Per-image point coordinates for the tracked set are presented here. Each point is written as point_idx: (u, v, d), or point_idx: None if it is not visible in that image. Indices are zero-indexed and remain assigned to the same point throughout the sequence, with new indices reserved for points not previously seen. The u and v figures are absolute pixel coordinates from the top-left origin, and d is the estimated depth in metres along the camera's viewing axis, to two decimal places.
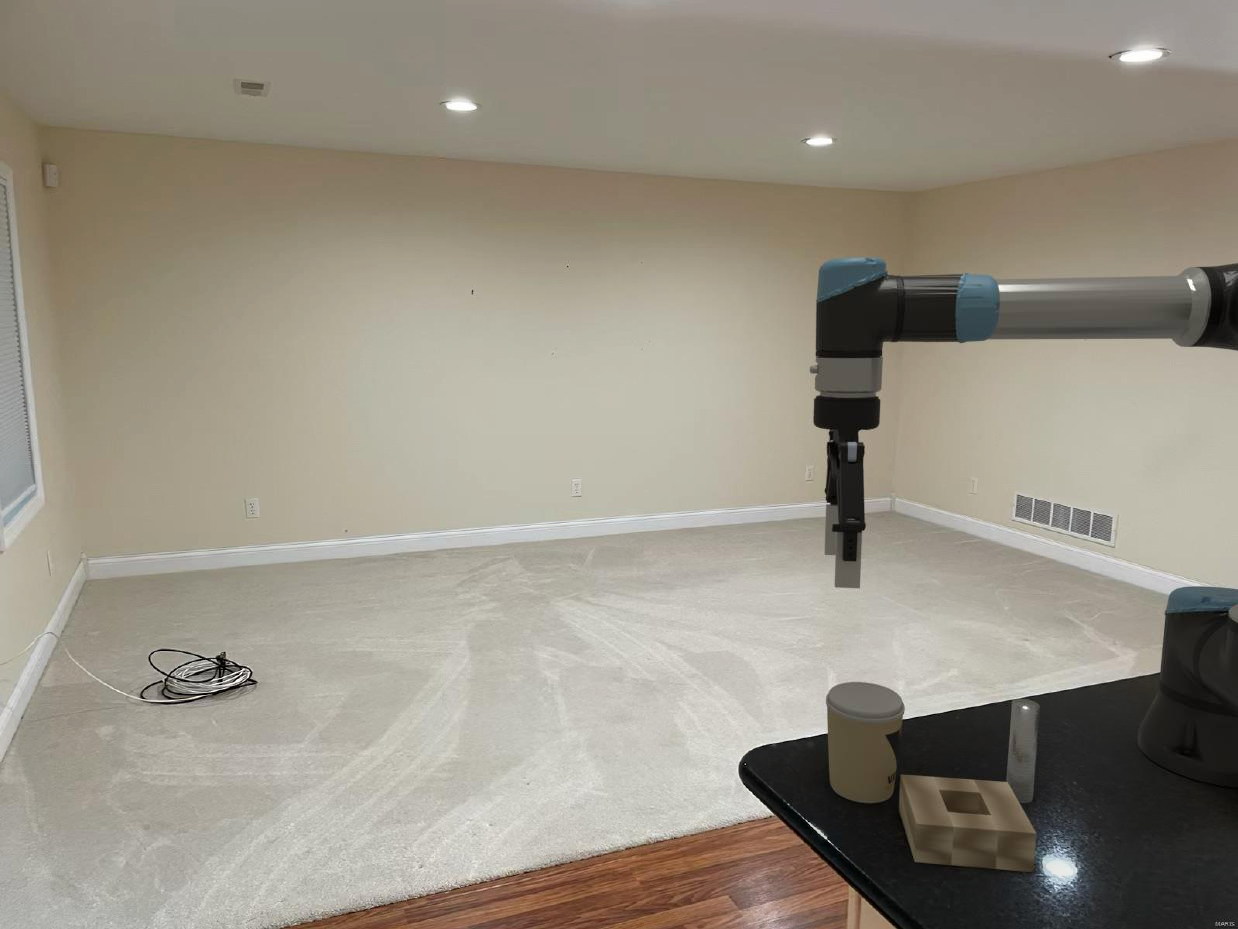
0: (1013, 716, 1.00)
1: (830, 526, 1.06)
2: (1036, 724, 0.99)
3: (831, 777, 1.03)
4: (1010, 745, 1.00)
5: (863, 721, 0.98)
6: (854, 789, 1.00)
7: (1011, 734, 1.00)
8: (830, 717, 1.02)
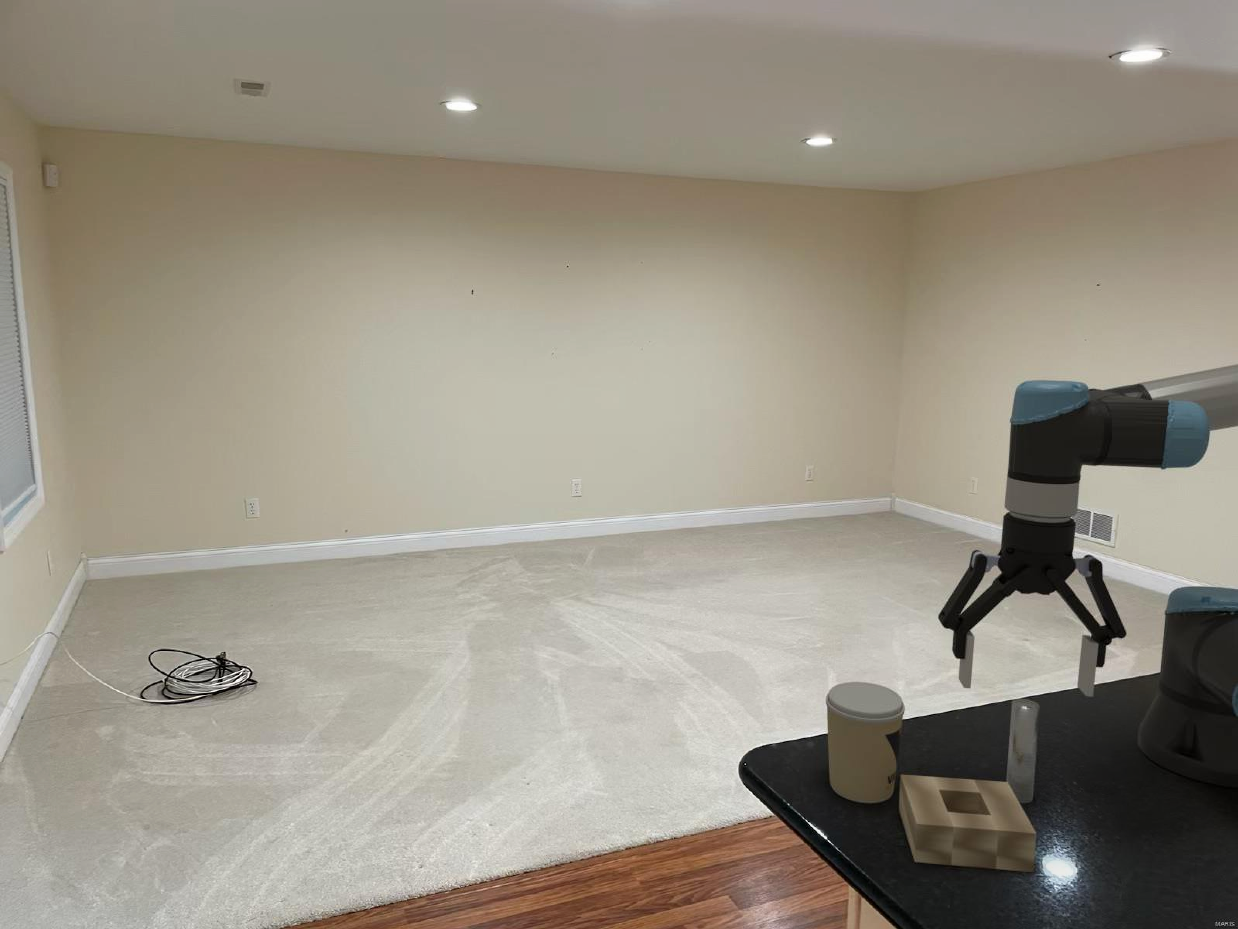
0: (1013, 716, 1.00)
1: (1082, 658, 0.98)
2: (1036, 724, 0.99)
3: (831, 777, 1.03)
4: (1010, 745, 1.00)
5: (863, 721, 0.98)
6: (854, 789, 1.00)
7: (1011, 734, 1.00)
8: (830, 717, 1.02)
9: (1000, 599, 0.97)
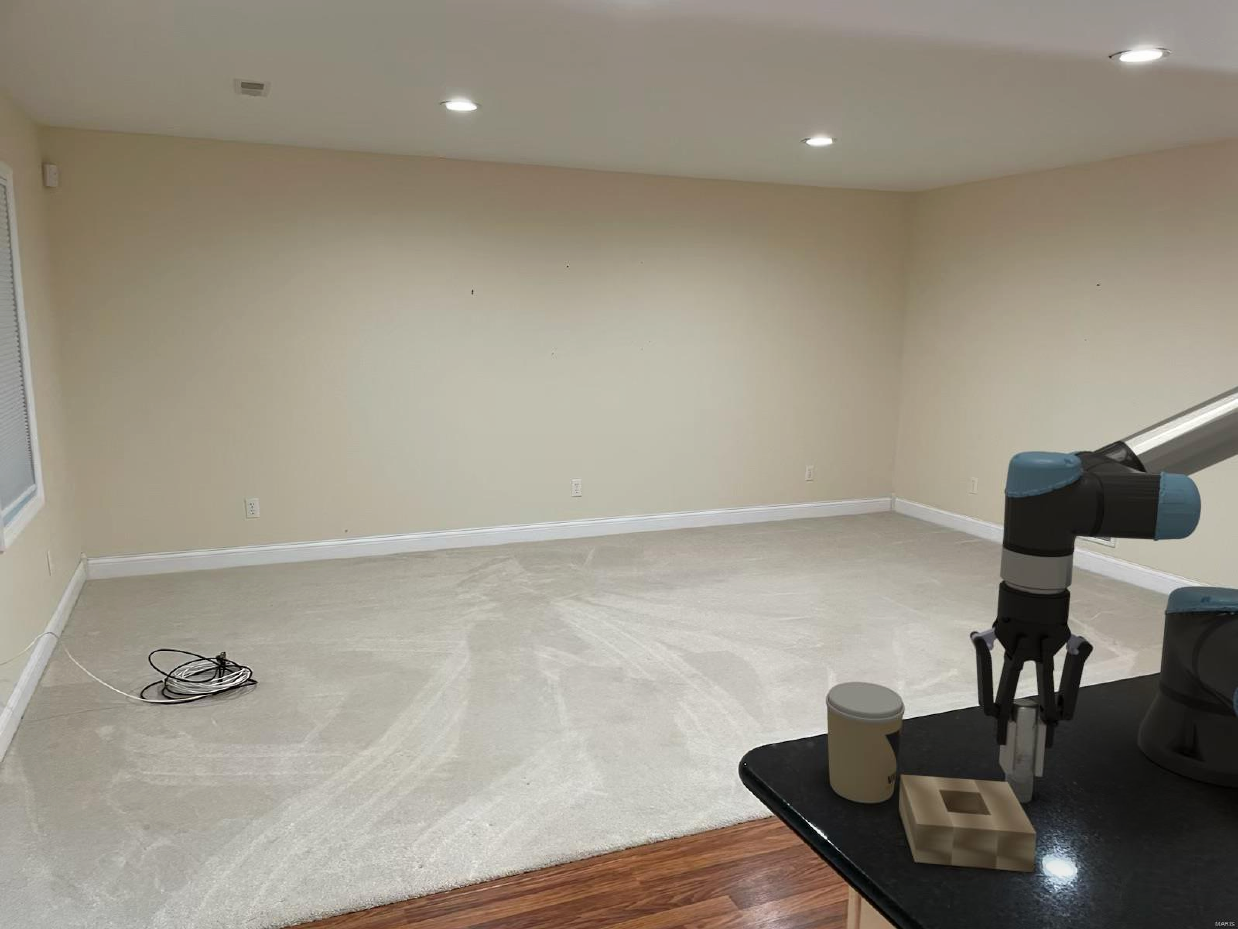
0: (1012, 716, 1.00)
1: None
2: (1035, 724, 0.99)
3: (831, 777, 1.03)
4: None
5: (863, 721, 0.98)
6: (854, 789, 1.00)
7: None
8: (830, 717, 1.02)
9: (1017, 674, 0.98)
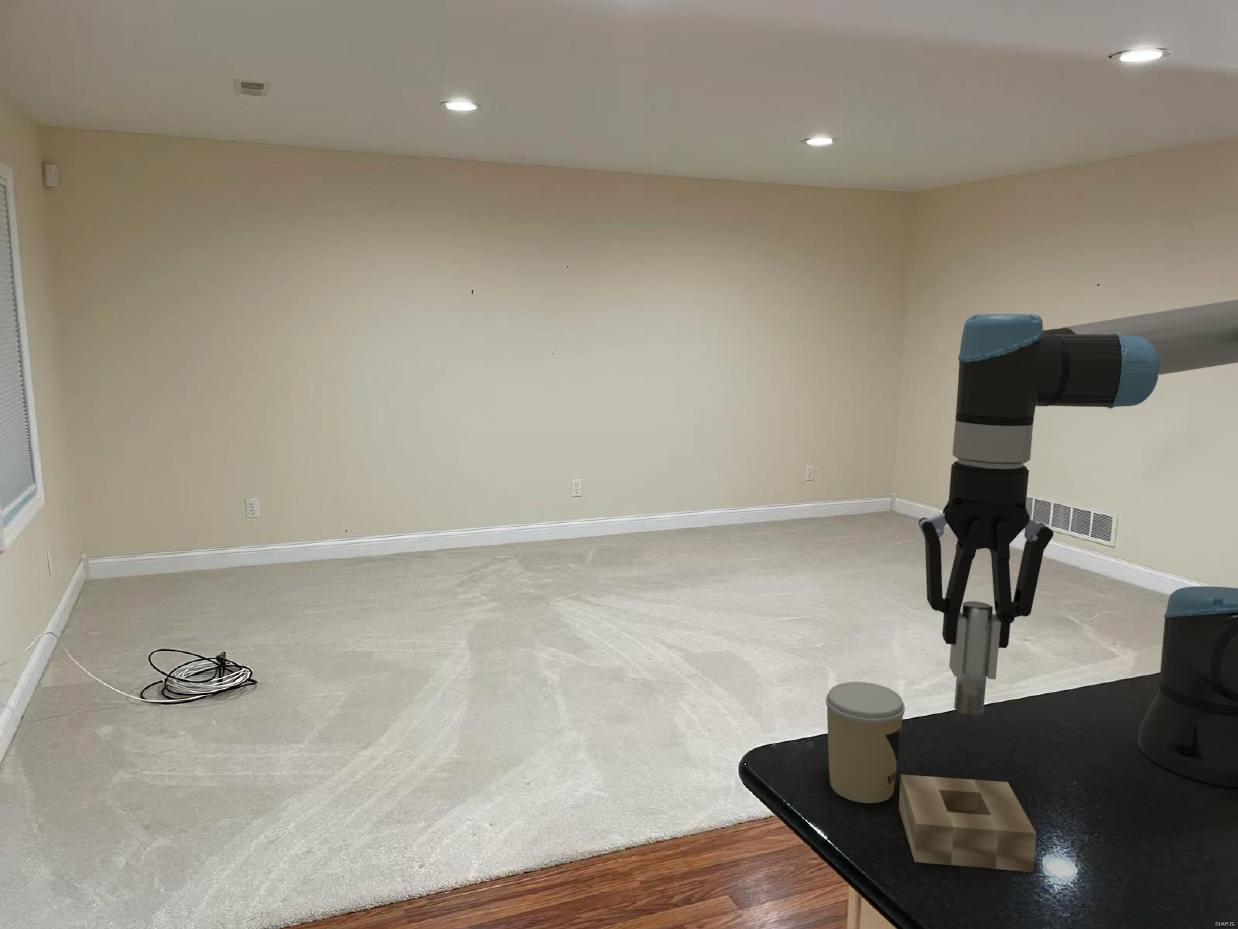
0: None
1: None
2: (988, 627, 0.89)
3: (831, 777, 1.03)
4: None
5: (863, 721, 0.98)
6: (854, 789, 1.00)
7: None
8: (830, 717, 1.02)
9: (969, 564, 0.88)
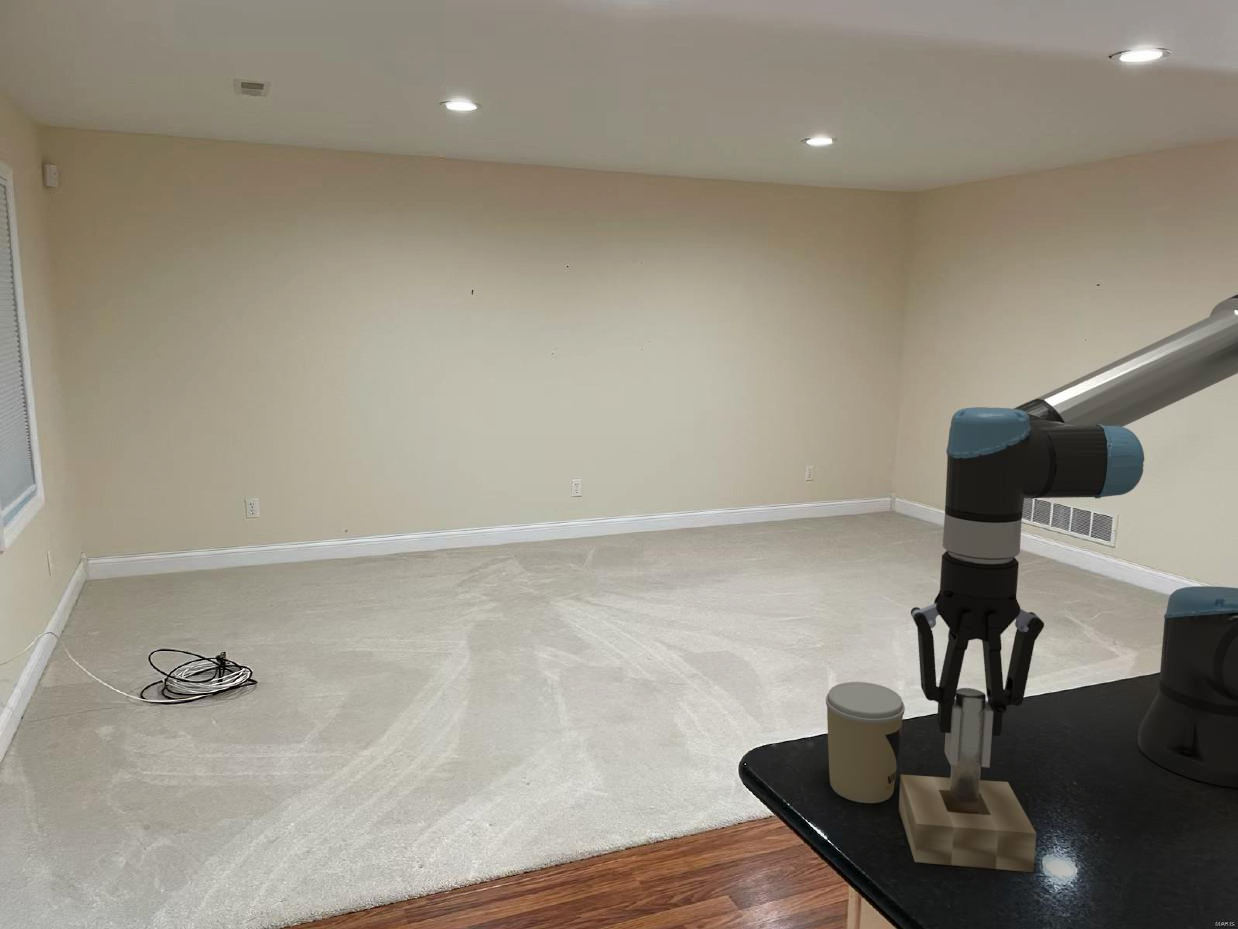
0: None
1: None
2: (981, 716, 0.90)
3: (831, 777, 1.03)
4: None
5: (863, 721, 0.98)
6: (854, 789, 1.00)
7: None
8: (830, 717, 1.02)
9: (961, 654, 0.89)
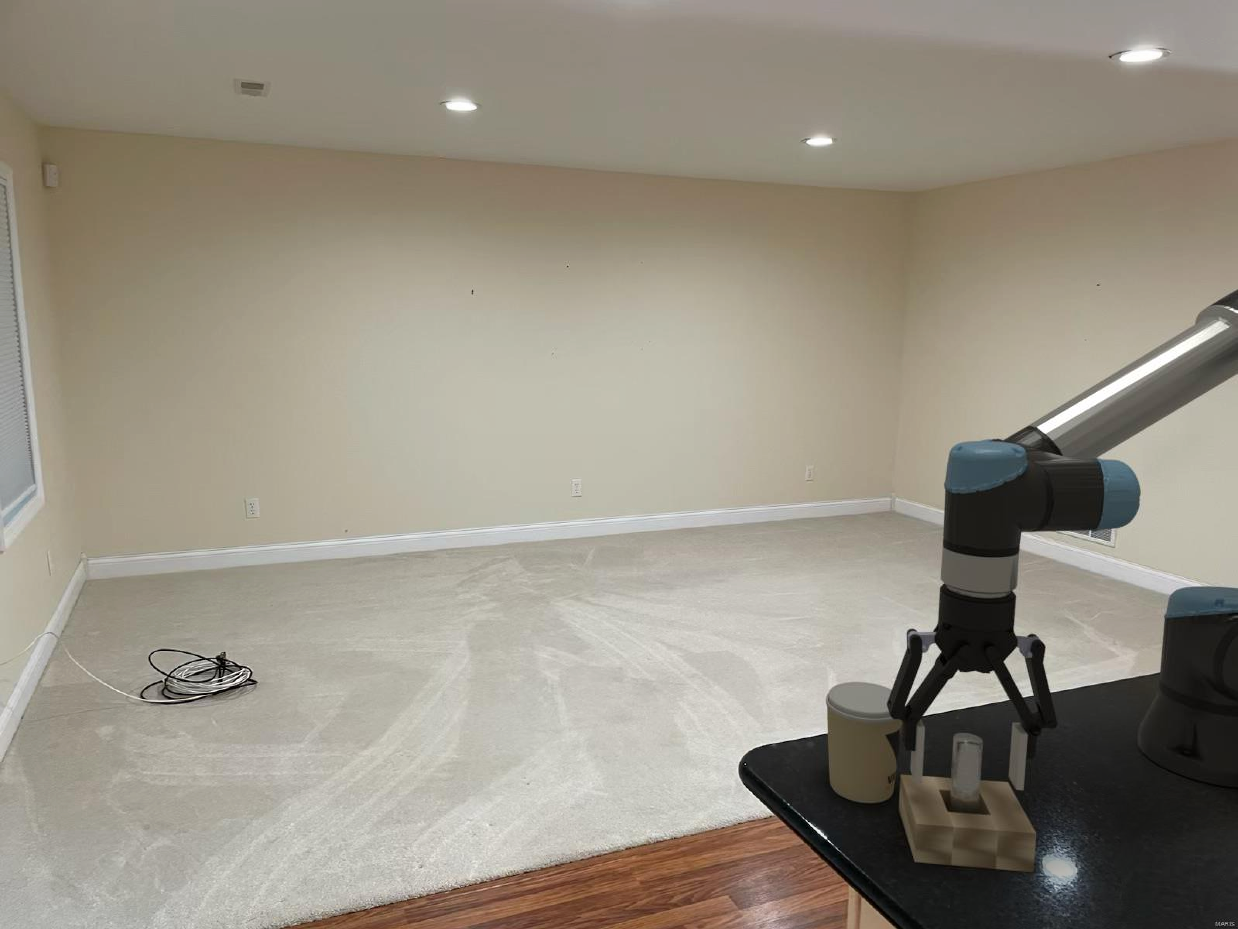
0: (954, 752, 0.91)
1: (1012, 747, 0.91)
2: (979, 762, 0.90)
3: (831, 777, 1.03)
4: (951, 783, 0.92)
5: (863, 721, 0.98)
6: (854, 789, 1.00)
7: (952, 772, 0.92)
8: (830, 717, 1.02)
9: (944, 682, 0.89)
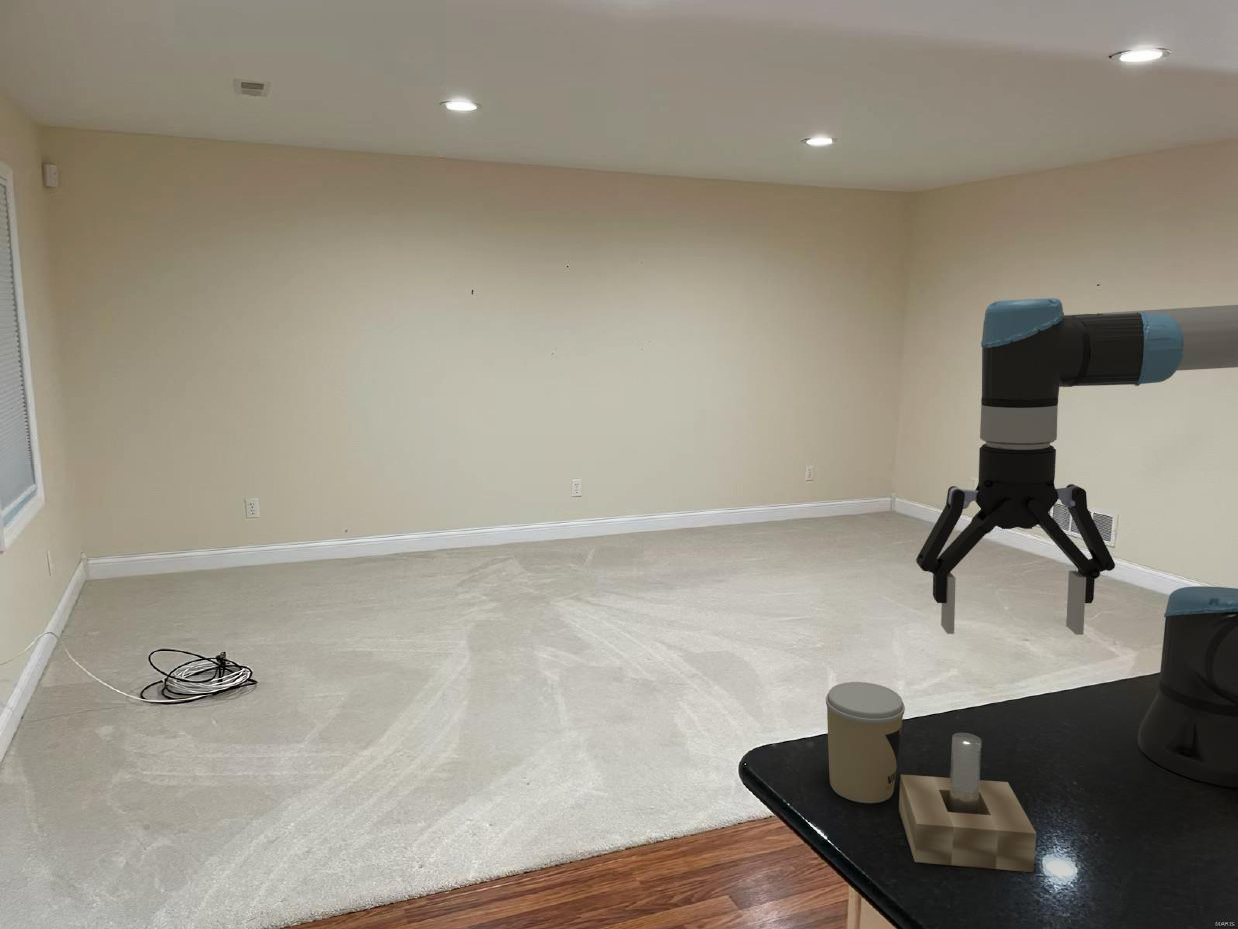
0: (953, 752, 0.91)
1: (1069, 595, 0.93)
2: (978, 761, 0.90)
3: (831, 777, 1.03)
4: (951, 783, 0.92)
5: (863, 721, 0.98)
6: (854, 789, 1.00)
7: (952, 771, 0.92)
8: (830, 717, 1.02)
9: (980, 536, 0.91)
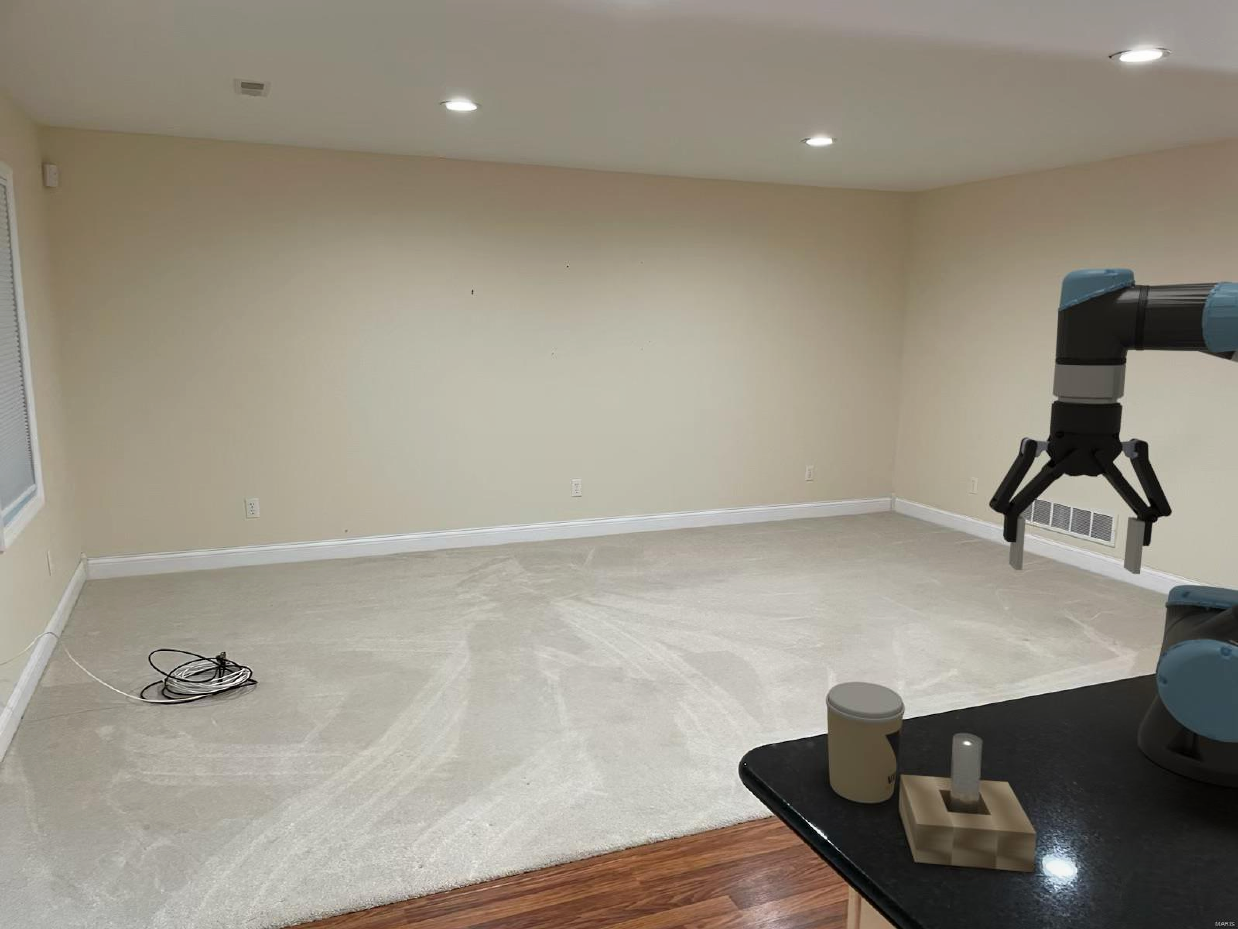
0: (954, 753, 0.91)
1: (1128, 539, 1.03)
2: (978, 762, 0.90)
3: (831, 777, 1.03)
4: (951, 783, 0.92)
5: (863, 721, 0.98)
6: (854, 789, 1.00)
7: (952, 772, 0.92)
8: (830, 717, 1.02)
9: (1050, 482, 1.02)
